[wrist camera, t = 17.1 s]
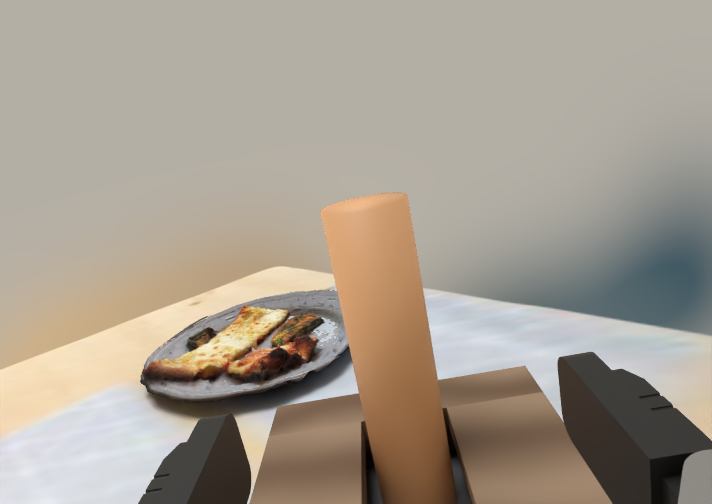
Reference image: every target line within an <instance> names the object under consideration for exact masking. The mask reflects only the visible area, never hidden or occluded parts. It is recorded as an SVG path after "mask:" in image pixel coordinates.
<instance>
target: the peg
mask: <svg viewBox="0 0 712 504" xmlns="http://www.w3.org/2000/svg"><path fill="white" fill-rule="evenodd" d="M320 212H321V217H322V222H323V226H324V231H325V236H326V240H327V245H328V249H329V254H330V259H331V264H332V268H333V273H334V278H335V283H336V287H337V292H338V297H339V301H340V306H341V311H342V315H343V320H344V325H345V329H346V334H347V339H348V343H349V348H350V353H351V357H352V362H353V367H354V371H355V376H356V381H357V385H358V390H359V395H360V400H361V404H362V409H363V414H364V418H365V423H366V428H367V432H368V437H369V442H370V446H371V451H372V456H373V460H374V466H373V467H371V468H370V469H369V470H368V471H367V472H366V481H367V504H472V502H471V499H470V495H469V492H468V488H467V485H466V482H465V478H464V475H463V472H462V468H461V465H460V461H459V458H458V455H457V454H454V453H451V452H449V446H448V440H447V433H446V427H445V421H444V415H443V409H442V403H441V397H440V391H439V385H438V379H437V372H436V366H435V360H434V354H433V348H432V342H431V336H430V330H429V324H428V317H427V311H426V305H425V299H424V293H423V287H422V281H421V275H420V269H419V263H418V256H417V250H416V244H415V238H414V232H413V227H412V221H411V214H410V208H409V202H408V196H407V194H405V193H399V192H396V193H395V192H393V193H381V194H374V195H368V196H363V197H357V198H353V199H348V200H344V201H341V202H338V203H335V204H332V205H329V206H327V207H325V208H323V209H322V210H321V211H320Z"/></svg>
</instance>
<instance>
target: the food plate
mask: <svg viewBox="0 0 712 504" xmlns="http://www.w3.org/2000/svg"><path fill="white" fill-rule="evenodd" d="M326 290H327V289H326ZM289 316H295V317H293V318H291V319H287V318H288V317H289ZM317 316H319V317H317ZM207 317H208V316H206V317H204V318H202V319H200V320H198V321H196V322H195V323H193V324H191V325H190V326H188V327H187V328H185V329H184V330H183V331H181V332H179V333H178V334H177V335H175V336H174V337H172V338H171V339H173V338H175V339H173V340H171V339H170V340H168V341H167V344H165V343H164V344H163V346H162V347H161V346H160V347H161V348H160V347H159V348H158V349H156V350H155V351H154V352H153V353H152V355H151V356H150V357H149V358H148V359H147V361H146V363H145V365H144V369H143V371H142V375H141V380H140V382H141V384H143V385H144V386H146V388H147V391H148V392H150V393H153V394H154V393H156V394H158V395H159V396H164V397H167V398H168V397H169V398H171V399H178V400H181V401H184V402H187V403H190V402H203V401H205V402H208V401H214V400H220V399H226V398H229V397H234V396H236V395H237V396H239V395H244V394H249V393H251V394H253V393H255V394H256V393H263V392H266V391H268V389H271V388H277V387H279V386H281V385H284V384H287V385H288V388H289V386H290V385H289V383H287V382H286V381H287V380H292V382H298V381H301V380H302V379H303V378H304V376H305V375H306V374H307V373H308V372H309V371H312V370H315V371H316V372H318V371H321V370H323V369H324V368H325V367H326V366H327V365H329V364H330V363H331V361H333V360H335V359H336V358H337V357H340V356H337V355H339V354H341V353H343V352H344V350H345V349H346V348H347V347H348V346H349V343H348V339H347V334H346V329H345V325H344V320H343V315H342V311H341V306H340V301H339V297H338V292H337V291H334V290H333V291H325V290H318V291H316V290H314V291H307V292H306V291H305V292H303V291H301V292H298V291H297V292H291V293H287V294H281V295H275V296H269V297H265V298H260V299H256V300H253V301H250V302H245V303H243V304H240V305H236V306H234V307H231V308H229V309H227V310H224V311H222V312H220V313H217V314H215V315H212V316H211V315H210V317H208V318H207ZM321 317H324V318H325V319H330V321H331V322H335V323H336V324H335V325H333V326H338V328H336V329H335V330H334V331H333V332H334V334H337V335H333V336H332V339H329V340H328V341H329V342H327V341H324V342H319V341H320V340H321V339H322V338H324V337H326V336H328V334H329V333H327V334H324V333H326V332H324V333H322V335H320V336H319V337H318V336H317V335H318V334H316V333H315V332H313V330H314V329H315V328H317V327H318V326H319V325H321V324H322V323H324V320H323V319H322V318H321ZM205 318H207V319H205ZM203 319H204V320H203ZM201 320H203V321H201ZM286 321H287V322H286ZM197 322H199V323H197ZM285 322H286V323H285ZM196 323H197V324H196ZM194 324H195V325H194ZM329 324H331V323H329ZM193 325H194V326H193ZM311 331H312V332H313V333H311ZM316 331H318V330H316ZM323 331H326V330H323ZM329 331H330V330H329ZM319 332H320V331H319ZM319 332H318V333H319ZM308 333H309V334H308ZM331 333H332V332H331ZM338 333H339V334H338ZM314 334H316V335H314ZM334 336H336V339H334V338H333V337H334ZM324 339H326V338H324ZM336 340H337V342H336V343H335V341H336ZM332 341H333V342H332ZM333 343H335V344H333ZM321 344H323V345H324V346H320V345H321ZM322 349H323V350H322ZM336 356H337V357H336ZM335 357H336V358H335Z"/></svg>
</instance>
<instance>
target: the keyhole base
mask: <svg viewBox="0 0 712 504" xmlns="http://www.w3.org/2000/svg"><path fill="white" fill-rule="evenodd" d="M438 385H439V391H440V397H441V403H442V409H443V415H444V421H445V427H446V433H447V440H448V446H449V452H451V453H454V454H457V455H458V458H459V461H460V465H461V468H462V472H463V475H464V478H465V482H466V485H467V488H468V492H469V495H470V499H471V502H472V504H613V503H612V502H611V500H610V499H609V497H608V496H607V494H606V493H605V491H604V490H603V488H602V487H601V485H600V484H599V482H598V481H597V479H596V478H595V476H594V475H593V473H592V471H591V470H590V468H589V467H588V465H587V464H586V462H585V461H584V459H583V458H582V456H581V455H580V453H579V452H578V450H577V449H576V447H575V446H574V444H573V443H572V441H571V439H570V437H569V435H568V433H567V430H566V427H565V424H564V422H563V421H562V419H561V418H560V416H559V415H558V414H557V412H556V411H555V409H554V408H553V406H552V405H551V403H550V402H549V400H548V399H547V397H546V396H545V394H544V393H543V392H542V390H541V389H540V387H539V386H538V384H537V383H536V381H535V380H534V378H533V377H532V375H531V374H530V372H529V371H528V370H527V368H526V367H525V366H521V367H515V368H509V369H503V370H497V371H491V372H485V373H479V374H473V375H467V376H461V377H455V378H449V379H443V380H438ZM373 466H374V460H373V456H372V451H371V446H370V442H369V437H368V432H367V428H366V423H365V418H364V414H363V409H362V404H361V400H360V395H359V394H353V395H347V396H341V397H335V398H329V399H323V400H317V401H311V402H304V403H298V404H292V405H286V406H280V407H277V410H276V414H275V417H274V421H273V424H272V428H271V431H270V434H269V438H268V441H267V445H266V448H265V452H264V455H263V459H262V462H261V466H260V469H259V473H258V476H257V479H256V483H255V486H254V490H253V493H252V497H251V500H250V504H367V481H366V470H369V469H370V468H371V467H373Z"/></svg>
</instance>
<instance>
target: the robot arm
mask: <svg viewBox="0 0 712 504" xmlns="http://www.w3.org/2000/svg"><path fill="white" fill-rule="evenodd" d="M558 375H559V386H560V396H561V406H562V415H563V420H564V424H565V427H566V430H567V433H568V435H569V437H570V439H571V441H572V443H573V444H574V446H575V447H576V449H577V450H578V452H579V453H580V455H581V456H582V458H583V459H584V461H585V462H586V464H587V465H588V467H589V468H590V470H591V471H592V473H593V475H594V476H595V478H596V479H597V481H598V482H599V484H600V485H601V487H602V488H603V490H604V491H605V493H606V494H607V496H608V497H609V499H610V500H611V502H612V503H613V504H712V441H711V440H710V439H709V438H708V437H707V436H706V435H705V434H704V433H703V432H702V431H701V430H699V429H698V428H697V427H696V426H695V425H694V424H693V423H692V422H691V421H690V420H689V419H687V418H686V417H685V416H684V415H683V414H682V413H681V412H680V411H679V410H678V409H676V408H673V405H672V404H671V403H670V402H669V401H668V400H667V399H666V398H664V397H663V396H660V393H659V392H658V391H657V390H656V389H655V388H654V387H652V386H651V385H650V384H649V383H648V382H647V381H646V380H645V379H643V378H641V377H639V376H637V375H634V374H632V373H630V372H628V371H626V370H624V369H617V370H611V369H610V368H609V367H608V366H607V365H606V364H605V363H604V362H603V361H602V360H601V359H600V358H599V357H598V356H597V355H596V354H595V353H593V352H587V353H581V354H575V355H569V356H563V357H559V359H558ZM250 490H251V470H250V465H249V462H248V458H247V455H246V452H245V449H244V445H243V442H242V439H241V436H240V433H239V429H238V426H237V423H236V420H235V418H234V416H233V415H232V414H224V415H218V416H213V417H207V418H201V419H200V420H199V421H198V422H197V424H196V426H195V428H194V430H193V432H192V433H191V435H190V437H189V439H188V441H187V442H184V443H180V444H179V445H178V446H177V447H176V448H175V449H174V450H173V451H172V452H171V453H170V454H169V455H168V456H167V457H166V458H165V459H164V460H163V461H162V463H161V465H160V467H159V468H158V470H157V472H156V474H155V475H154V480H152V481H151V482H150V484H149V486H148V487H147V489H146V494H143V496H142V498H141V500H140V501H139V503H138V504H247V501H248V498H249V494H250Z"/></svg>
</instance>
